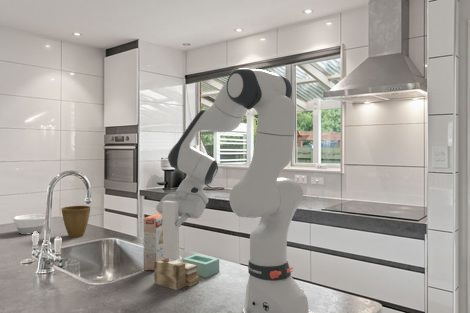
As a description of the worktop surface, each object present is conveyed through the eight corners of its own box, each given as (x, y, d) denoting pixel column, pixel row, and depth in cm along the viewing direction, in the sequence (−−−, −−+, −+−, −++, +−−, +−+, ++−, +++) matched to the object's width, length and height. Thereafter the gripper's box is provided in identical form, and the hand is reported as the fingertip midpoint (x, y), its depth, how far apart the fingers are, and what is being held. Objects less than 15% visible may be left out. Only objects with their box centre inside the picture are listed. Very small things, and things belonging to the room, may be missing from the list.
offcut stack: (199, 282, 133) (199, 265, 133) (189, 286, 129) (189, 269, 129) (171, 274, 141) (171, 259, 141) (162, 278, 137) (161, 262, 137)
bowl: (46, 227, 228) (45, 212, 228) (50, 233, 214) (50, 216, 213) (12, 231, 218) (12, 215, 218) (14, 237, 204) (14, 220, 203)
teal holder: (219, 271, 144) (219, 258, 144) (206, 277, 138) (205, 264, 138) (196, 266, 151) (196, 253, 151) (182, 271, 145) (182, 258, 145)
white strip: (179, 258, 130) (178, 201, 130) (175, 259, 129) (174, 202, 128) (167, 255, 134) (166, 200, 133) (163, 257, 132) (162, 201, 132)
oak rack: (185, 285, 130) (185, 263, 129) (176, 290, 126) (176, 266, 126) (163, 279, 136) (163, 258, 136) (154, 283, 132) (154, 261, 132)
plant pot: (66, 240, 195) (65, 210, 195) (58, 235, 207) (58, 207, 206) (94, 236, 205) (94, 207, 204) (86, 231, 216) (85, 204, 216)
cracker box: (157, 271, 145) (156, 218, 145) (143, 270, 147) (142, 218, 146) (170, 260, 159) (169, 212, 159) (157, 259, 160) (156, 211, 160)
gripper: (164, 187, 142) (144, 216, 135) (204, 189, 130) (185, 222, 123) (172, 197, 146) (154, 226, 138) (212, 200, 134) (194, 232, 126)
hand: (169, 224), depth 130 cm, fingers closed on white strip, 6 cm apart
